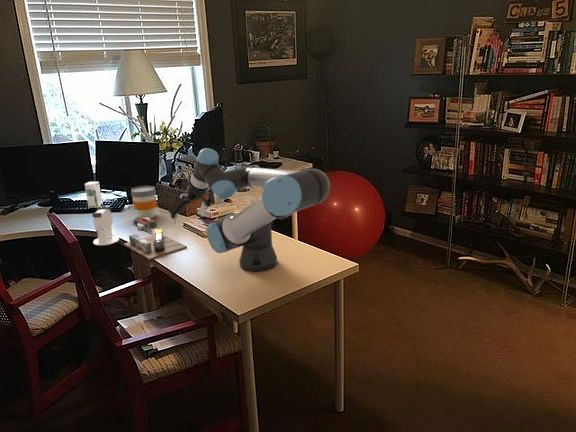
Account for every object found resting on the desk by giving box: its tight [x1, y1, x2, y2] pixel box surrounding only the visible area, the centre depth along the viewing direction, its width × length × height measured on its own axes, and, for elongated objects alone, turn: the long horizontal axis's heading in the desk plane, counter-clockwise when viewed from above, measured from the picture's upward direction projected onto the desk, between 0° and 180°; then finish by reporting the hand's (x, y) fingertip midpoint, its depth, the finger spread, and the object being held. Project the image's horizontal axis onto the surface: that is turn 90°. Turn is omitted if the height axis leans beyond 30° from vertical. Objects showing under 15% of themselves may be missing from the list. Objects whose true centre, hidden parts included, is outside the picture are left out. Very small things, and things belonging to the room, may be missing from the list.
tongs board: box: [123, 233, 188, 261], centre depth 215 cm, size 24×18×4 cm
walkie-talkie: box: [132, 217, 158, 233], centre depth 241 cm, size 9×4×20 cm
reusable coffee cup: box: [130, 185, 157, 219], centre depth 255 cm, size 13×13×15 cm
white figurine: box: [91, 206, 120, 246], centre depth 223 cm, size 12×11×15 cm
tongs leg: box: [153, 228, 165, 252], centre depth 216 cm, size 20×4×4 cm, turn 15°
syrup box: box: [84, 181, 103, 209], centre depth 274 cm, size 6×6×14 cm
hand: (187, 218), depth 202 cm, fingers open, 13 cm apart
